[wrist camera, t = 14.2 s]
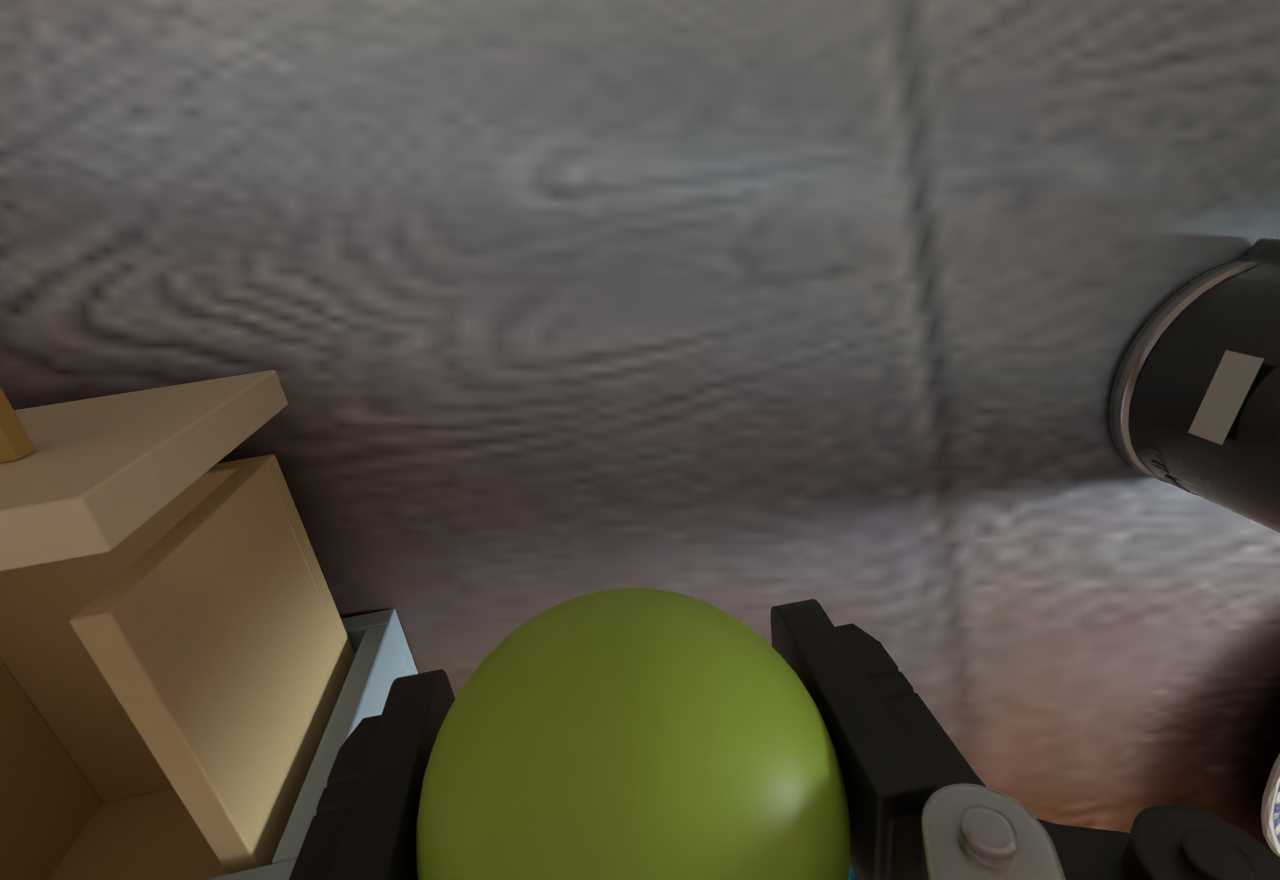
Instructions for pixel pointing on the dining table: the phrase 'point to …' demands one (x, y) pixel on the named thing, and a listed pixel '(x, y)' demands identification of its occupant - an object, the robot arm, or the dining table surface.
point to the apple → (633, 754)
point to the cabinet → (343, 724)
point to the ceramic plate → (1272, 809)
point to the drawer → (155, 637)
